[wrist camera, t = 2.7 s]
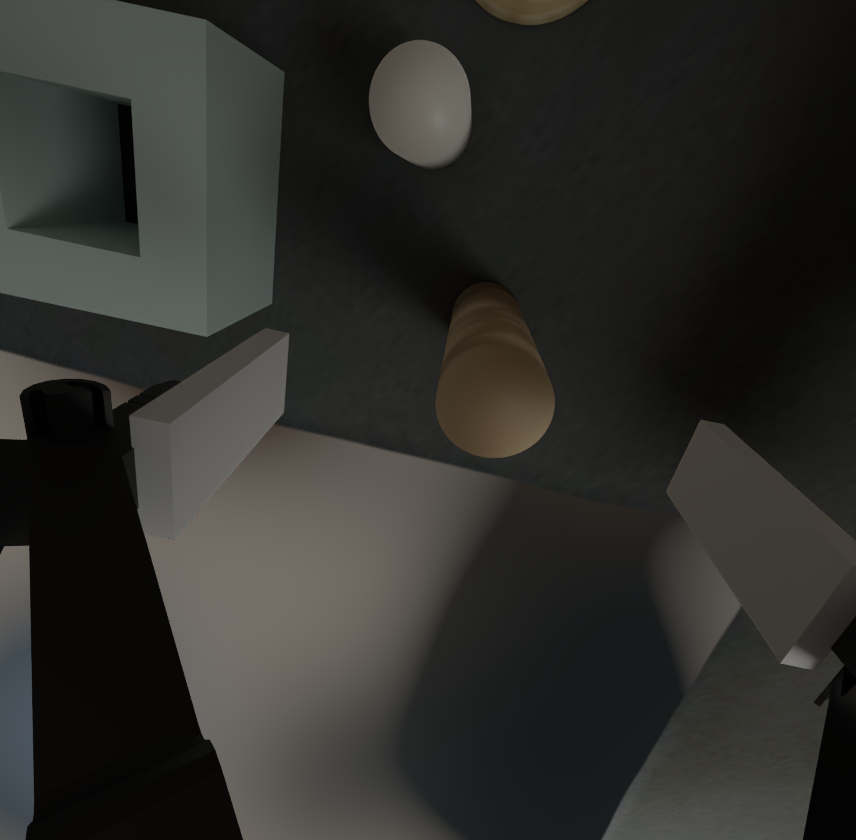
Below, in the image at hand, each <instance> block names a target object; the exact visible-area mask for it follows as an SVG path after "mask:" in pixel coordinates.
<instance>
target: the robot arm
mask: <svg viewBox="0 0 856 840" xmlns="http://www.w3.org/2000/svg"><path fill="white" fill-rule="evenodd" d="M288 345H289V333H286V332H281V331H276V330H271V329H267V328H265V329H263V330H261V331H260V332H258V333H257V334H255V335H254V336H252V337H251V338H249V339H247V340H246V341H244V342H243V343H241V344H240V345H238V346H237V347H235V348H233V349H232V350H230V351H229V352H227V353H226V354H224V355H223V356H221V357H219V358H218V359H216V360H215V361H213V362H212V363H210V364H209V365H207V366H205V367H204V368H202V369H201V370H199V371H198V372H196V373H195V374H193V375H191V376H190V377H188V378H187V379H185V380H184V381H182V382H180V381H176V380H172V381H168V382H164V383H161V384H157V385H153V386H152V387H150V388H148V389H147V390H145V391H143V392H142V393H140V394H139V396H135V397H133V398H132V399H130V400H129V401H128V403H126V402H125V403H123V404H122V405H120V406H118V407H117V408H115V409H113V410H112V403H111V392H110V389H109V388H108V387H107V386H106V385H104V384H101V383H99V382H96V381H91V380H83V379H59V380H50V381H45V382H42V383H38V384H34V385H32V386H30V387H28V388H26V389H24V390H23V392H22V393H21V395H20V401H21V407H22V412H23V418H24V423H25V429H26V434H27V440H10V439H0V554H1V551H2V550H3V547H4V546H28V545H29V552H30V553H29V554H30V607H31V659H32V706H33V707H32V709H33V759H34V816H33V821H32V822H31V823H30V824H29V825H28V827H27V833H26V840H243V838H242V835H241V832H240V828H239V825H238V822H237V818H236V815H235V812H234V808H233V805H232V802H231V798H230V795H229V792H228V788H227V785H226V782H225V778H224V775H223V772H222V769H221V766H220V763H219V760H218V757H217V754H216V751H215V749H214V747H213V745H212V743H211V741H210V740H204V738H203V736H202V734H201V731H200V728H199V725H198V721H197V718H196V714H195V711H194V707H193V704H192V700H191V697H190V693H189V690H188V686H187V683H186V679H185V676H184V672H183V669H182V665H181V662H180V659H179V655H178V651H177V648H176V645H175V641H174V637H173V634H172V630H171V627H170V623H169V620H168V616H167V613H166V609H165V606H164V602H163V599H162V595H161V592H160V588H159V585H158V581H157V578H156V574H155V570H154V567H153V564H152V560H151V556H150V553H149V549H148V546H147V543H146V539H145V536H144V534H149V535H154V536H159V537H163V538H168V539H173V540H175V538H176V537H177V536H178V535H179V534H180V533H181V532H182V530H183V529H184V528H185V527H186V526H187V525H188V523H189V522H190V521H191V520H192V519H193V518H194V516H195V515H196V514H197V513H198V512H199V511H200V509H201V508H202V507H203V506H204V505H205V504H206V502H207V501H208V500H209V499H210V498H211V497H212V495H213V494H214V493H215V492H216V491H217V490H218V488H219V487H220V486H221V485H222V484H223V482H224V481H225V480H226V479H227V478H228V476H229V475H231V473H232V472H233V471H234V470H235V468H237V466H238V465H239V464H240V463H241V461H243V459H244V458H245V457H246V456H247V455H248V454H249V452H250V451H251V450H252V449H253V448H254V447H255V445H256V444H257V443H258V442H259V441H260V440H261V438H262V437H263V436H264V435H265V434H266V432H267V431H268V430H269V429H270V428H271V427H272V426H273V424H274V423H275V422H276V421H277V420H278V419H279V417H280V416H281V415H282V414H283V413H284V401H285V387H286V373H287V359H288ZM666 493H667V495H668V496H669V498H670V499H671V501H672V502H673V504H674V505H675V507H676V508H677V510H678V511H679V513H680V514H681V516H682V517H683V519H684V520H685V522H686V523H687V524H688V526H689V527H690V529H691V530H692V532H693V533H694V535H695V536H696V538H697V539H698V541H699V542H700V544H701V545H702V547H703V548H704V550H705V551H706V553H707V554H708V556H709V557H710V559H711V560H712V562H713V563H714V565H715V566H716V568H717V569H718V571H719V572H720V574H721V575H722V577H723V578H724V580H725V581H726V583H727V584H728V586H729V587H730V589H731V590H732V592H733V593H734V595H735V596H736V598H737V599H738V601H739V602H740V604H741V605H742V607H743V608H744V610H745V611H746V613H747V614H748V616H749V617H750V619H751V620H752V622H753V623H754V625H755V626H756V628H757V629H758V631H759V632H760V634H761V635H762V637H763V638H764V639H765V641H766V642H767V644H768V645H769V647H770V648H771V650H772V651H773V653H774V654H775V656H776V657H777V659H778V660H779V662H780V663H781V664H786V665H791V666H796V667H801V668H806V669H811V670H816V669H817V668H818V666H819V665H820V664H821V662H822V661H823V660H824V659H825V657H826V656H827V655H828V654H829V652H830V651H831V650H833V652H834V653H835V654H836V655H837V657H838V658H839V659H840V660H841V662H842V663H843V664H844V666H843V667H842V669H841V670H840V671H839V672H838V674H837V675H836V676H835V677H834V678H833V680H832V681H831V682H830V683H829V684H828V686H827V687H826V688H825V689H824V691H823V692H822V693H821V694H820V695H819V697H818V698H817V699H816V700H815V701H814V703H815V704H817V705H818V706H821V705H822V704H823V703H824V702H829V704H828V709H827V714H826V720H825V725H824V730H823V735H822V741H821V746H820V751H819V757H818V762H817V767H816V773H815V778H814V783H813V789H812V794H811V799H810V804H809V810H808V815H807V820H806V826H805V831H804V836H803V840H856V541H855V540H854V539H853V538H852V537H851V536H849V535H848V534H847V533H846V532H845V531H844V530H843V529H842V528H840V527H839V526H838V525H837V524H836V523H835V522H834V521H833V520H831V519H830V518H829V517H828V516H827V515H826V514H825V513H824V512H822V511H821V510H820V509H819V508H818V507H817V506H816V505H815V504H813V503H812V502H811V501H810V500H809V499H808V498H807V497H806V496H804V495H803V494H802V493H801V492H800V491H799V490H798V489H796V488H795V487H794V486H793V485H792V484H791V483H790V482H789V481H787V480H786V479H785V478H784V477H783V476H782V475H781V474H780V473H778V472H777V471H776V470H775V469H774V468H773V467H772V466H771V465H769V464H768V463H767V462H766V461H765V460H764V459H763V458H762V457H760V456H759V455H758V454H757V453H756V452H755V451H754V450H753V449H751V448H750V447H749V446H748V445H747V444H746V443H745V442H744V441H742V440H741V439H740V438H739V437H738V436H737V435H736V434H735V433H733V432H732V431H731V430H730V429H729V428H728V427H727V426H726V425H724V424H720V423H715V422H710V421H705V420H700V422H699V424H698V426H697V428H696V430H695V432H694V434H693V436H692V438H691V440H690V443H689V445H688V447H687V449H686V451H685V453H684V455H683V457H682V459H681V461H680V463H679V465H678V467H677V469H676V472H675V474H674V476H673V478H672V480H671V482H670V484H669V486H668V488H667V490H666Z"/></svg>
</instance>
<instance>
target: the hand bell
mask: <svg viewBox="0 0 856 840" xmlns="http://www.w3.org/2000/svg"><path fill="white" fill-rule="evenodd" d="M475 1H476V2H477V3H478V4H479V5H480V6H481V7H482V8H483V9H484V10H485V11H487V12H488V13H490V14H491V15H493V16H495V17H497V18H499V19H501V20H504V21H506V22H510V23H515V24H521V25H541V24H544V23H549V22H553V21H555V20H558V19H561V18H563V17H565V16H567V15H568V14H570V13H572V12H573V11H575V10H576V9H578V8H579V7H580V6H582V5H583V4H584V3H585V2H587V1H588V0H475Z"/></svg>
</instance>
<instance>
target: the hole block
mask: <svg viewBox="0 0 856 840" xmlns="http://www.w3.org/2000/svg"><path fill="white" fill-rule="evenodd" d="M284 73H285V72H283V71H282V70H280V69H279V68H277V67H276V66H274V65H273V64H271V63H270V62H268V61H267V60H265V59H264V58H262V57H261V56H259V55H258V54H256V53H255V52H253V51H252V50H250V49H249V48H248V47H246V46H245V45H243V44H242V43H240V42H239V41H237V40H236V39H234V38H233V37H231V36H230V35H228V34H227V33H225V32H224V31H222V30H221V29H219V28H218V27H216V26H215V25H213V24H212V23H210V22H209V21H207V20H205V19H200V18H196V17H191V16H186V15H182V14H177V13H172V12H168V11H163V10H158V9H154V8H149V7H144V6H140V5H135V4H130V3H126V2H121V1H116V0H0V293H4V294H9V295H14V296H18V297H23V298H28V299H32V300H37V301H42V302H46V303H51V304H56V305H60V306H65V307H70V308H74V309H79V310H84V311H89V312H93V313H98V314H103V315H107V316H112V317H117V318H121V319H126V320H131V321H135V322H140V323H145V324H149V325H154V326H159V327H163V328H168V329H173V330H177V331H182V332H187V333H191V334H196V335H201V336H205V337H208V336H210V335H211V334H213V333H215V332H217V331H219V330H221V329H223V328H225V327H227V326H229V325H231V324H233V323H235V322H237V321H239V320H241V319H243V318H245V317H247V316H249V315H251V314H252V313H254V312H256V311H258V310H260V309H262V308H264V307H266V306H268V305H270V304H272V293H273V275H274V256H275V238H276V220H277V201H278V183H279V165H280V146H281V128H282V110H283V91H284ZM118 104H122V105H127V106H131V109H132V126H133V143H134V160H135V177H136V194H137V211H138V224H135V223H130V222H126V218H125V204H124V190H123V175H122V161H121V146H120V132H119V118H118Z"/></svg>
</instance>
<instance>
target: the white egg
mask: <svg viewBox="0 0 856 840" xmlns="http://www.w3.org/2000/svg"><path fill="white" fill-rule="evenodd" d="M369 110H370V116H371V120H372V123H373V126H374V128H375V131H376V132H377V134H378V136H379V138H380V139H381V140H382V142H383V143H384V144H385V145H386V146H387V147H388V148H389V149H390V150H391V151H392V152H394V153H395V154H397V155H398V156H400V157H402V158H404V159H405V160H407V161H409V162H411V163H412V164H414V165H416V166H418V167H420V168H422V169H426V170H440V169H444V168H446V167H448V166H450V165H452V164H453V163H455V162H456V161H457V160H458V159H459V158H460V157H461V156H462V154H463V153H464V151H465V150H466V148H467V146H468V143H469V140H470V137H471V130H472V117H471V96H470V88H469V83H468V79H467V76H466V74H465V71H464V69H463V67H462V66H461V64H460V62H459V61H458V60H457V58H456V57H455V56H454V55H453V54H452V53H451V52H450V51H449V50H448V49H446V48H445V47H443V46H441V45H439V44H437V43H435V42H431V41H427V40H413V41H408V42H406V43H403V44H401V45H399V46H397V47H395V48H394V49H393V50H391V51H390V52H389V53H388V54H387V55H386V56H385V57H384V58H383V60H382V61H381V62H380V64H379V65H378V67H377V69H376V71H375V73H374V76H373V79H372V82H371V86H370V92H369Z"/></svg>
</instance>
